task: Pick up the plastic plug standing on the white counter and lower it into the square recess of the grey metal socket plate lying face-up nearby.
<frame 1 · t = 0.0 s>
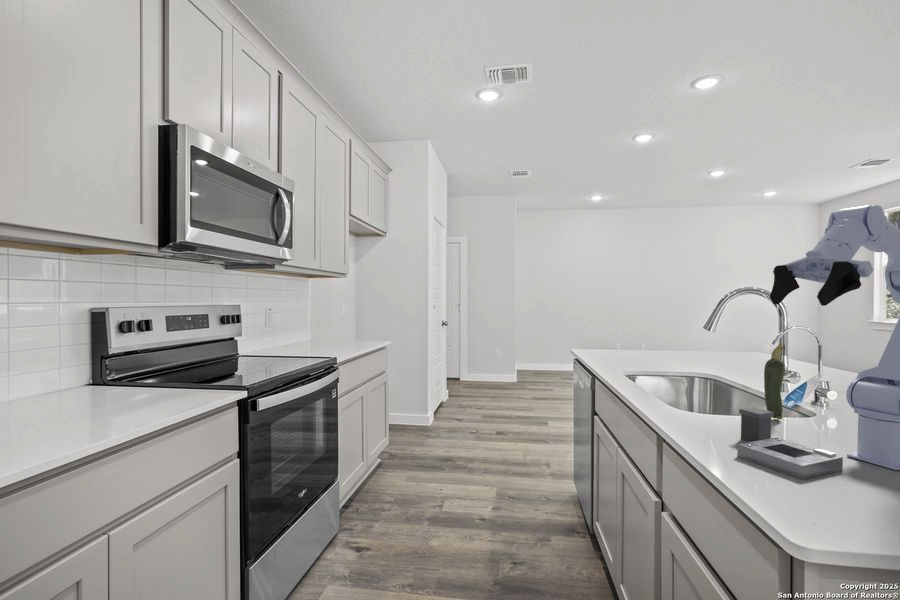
hand: (796, 300, 78), 32 cm above the counter, tool tilted 50°, fingers open, 7 cm apart
plug: (755, 441, 100), on the counter
socket plate: (787, 463, 87), on the counter
vegetable: (773, 420, 117), on the counter
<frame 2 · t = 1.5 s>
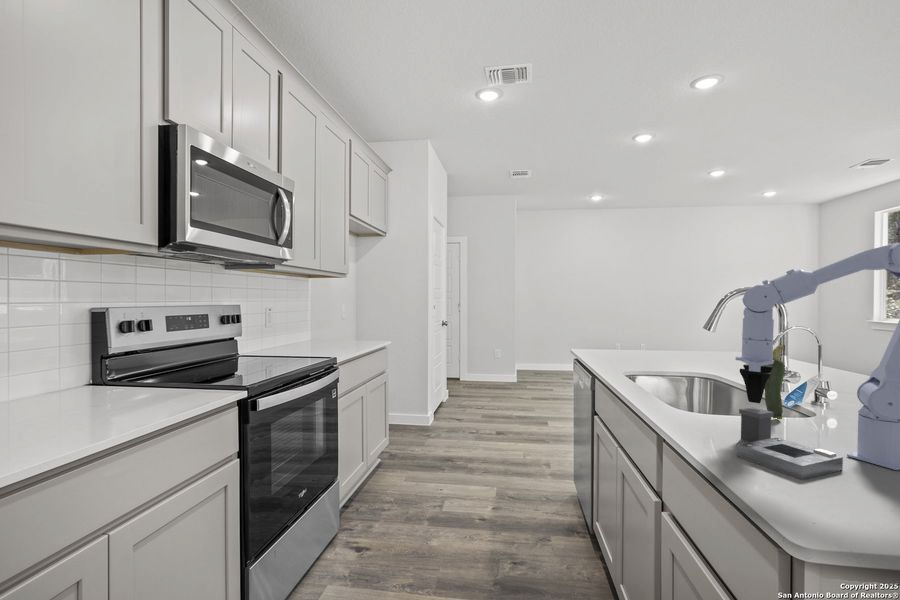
hand: (755, 399, 99), 10 cm above the counter, tool pointing down, fingers open, 7 cm apart
nothing on the counter moved.
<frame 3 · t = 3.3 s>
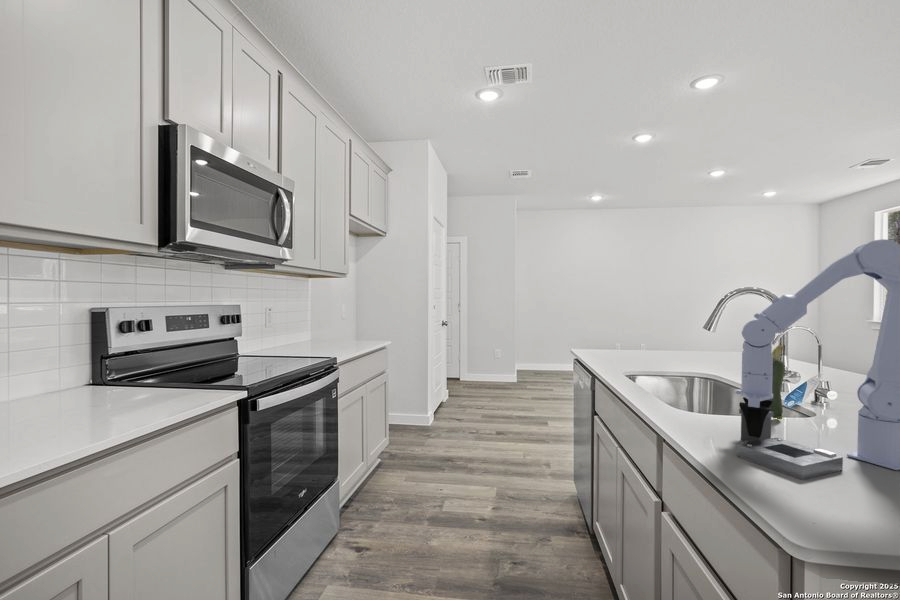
hand: (755, 432, 100), 2 cm above the counter, tool pointing down, fingers closed on plug, 6 cm apart
plug: (755, 441, 100), on the counter, touching gripper
everything else where it was.
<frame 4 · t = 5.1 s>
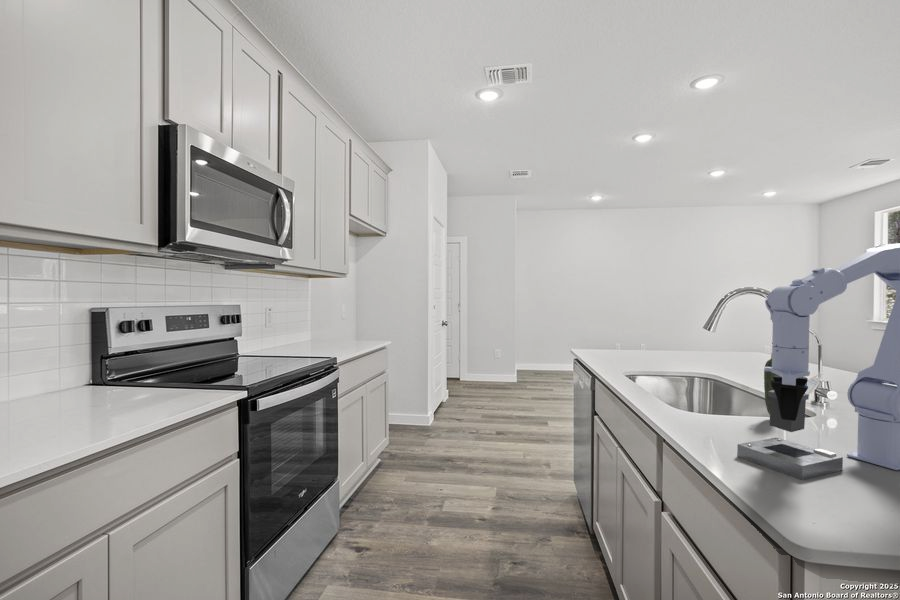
hand: (788, 415, 87), 9 cm above the counter, tool pointing down, fingers closed on plug, 6 cm apart
plug: (786, 427, 87), point 7 cm above the counter, touching gripper
everything else where it was.
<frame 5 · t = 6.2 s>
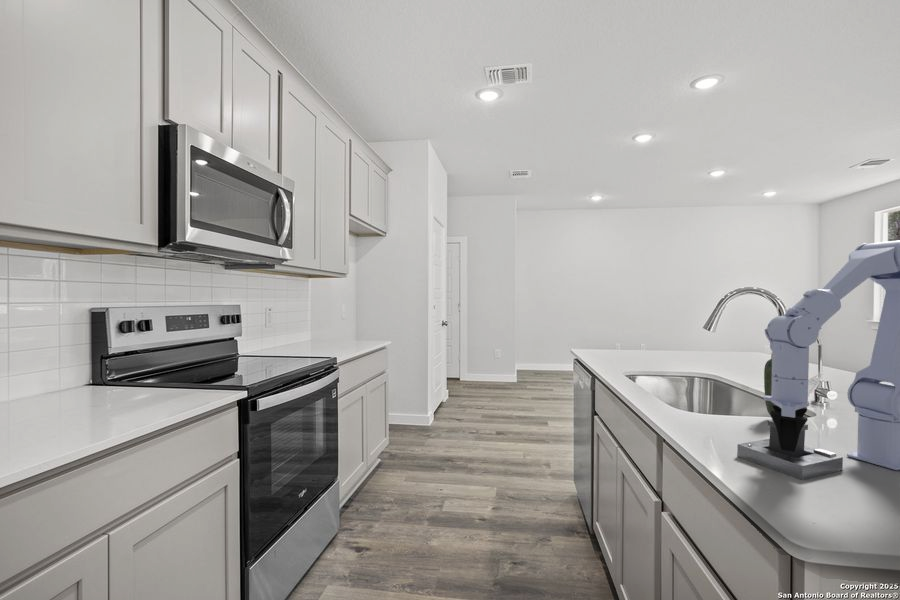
hand: (788, 445, 87), 3 cm above the counter, tool pointing down, fingers closed on plug, 6 cm apart
plug: (786, 456, 87), point 1 cm above the counter, touching gripper
everything else where it was.
when the fingers open (3 cm above the counter, at t = 7.2 s): plug drops 1 cm, resting in socket plate.
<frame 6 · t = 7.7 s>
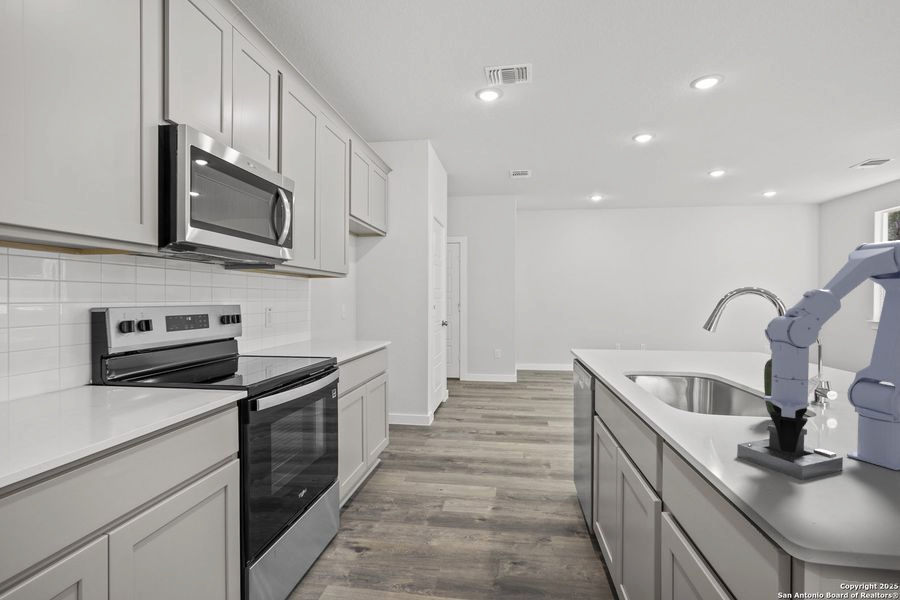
hand: (788, 445, 87), 3 cm above the counter, tool pointing down, fingers open, 7 cm apart
plug: (785, 462, 87), resting in socket plate
everything else where it was.
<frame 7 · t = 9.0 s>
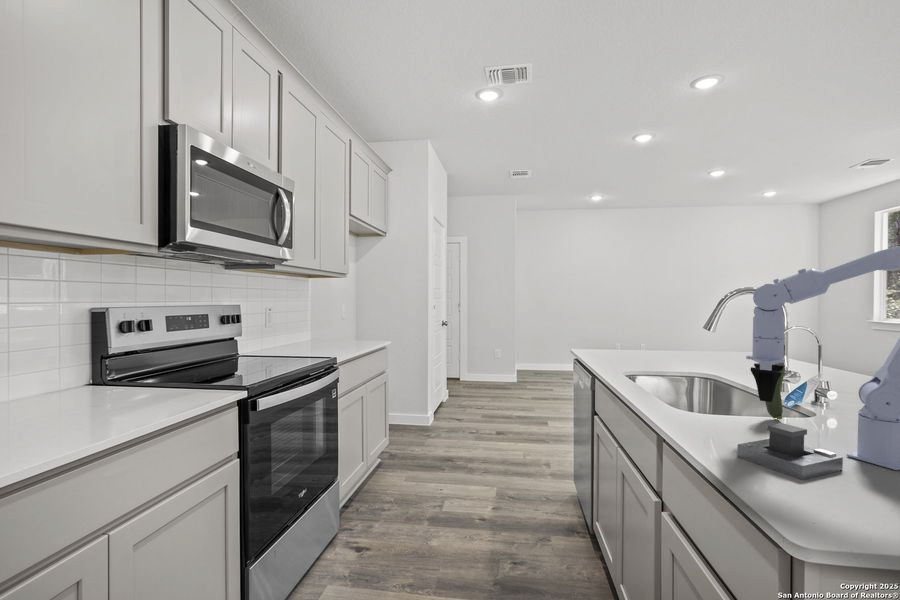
hand: (766, 397, 99), 10 cm above the counter, tool pointing down, fingers open, 7 cm apart
nothing on the counter moved.
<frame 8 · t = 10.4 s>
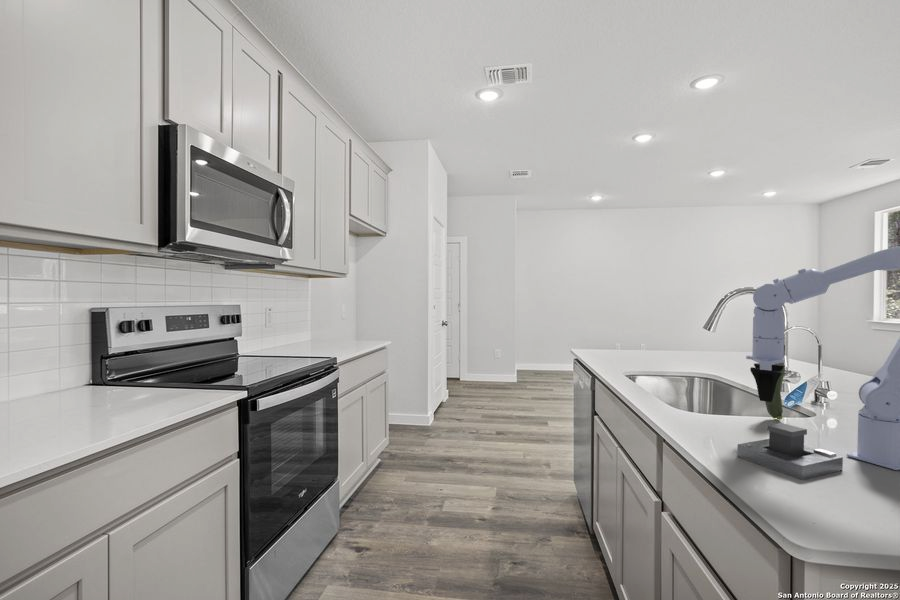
hand: (766, 397, 99), 10 cm above the counter, tool pointing down, fingers open, 7 cm apart
nothing on the counter moved.
at the end: plug 0.4 cm off-centre on the socket plate, point 0.0 cm above the socket plate's base; plug tilted 0°; the gripper is holding nothing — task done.
